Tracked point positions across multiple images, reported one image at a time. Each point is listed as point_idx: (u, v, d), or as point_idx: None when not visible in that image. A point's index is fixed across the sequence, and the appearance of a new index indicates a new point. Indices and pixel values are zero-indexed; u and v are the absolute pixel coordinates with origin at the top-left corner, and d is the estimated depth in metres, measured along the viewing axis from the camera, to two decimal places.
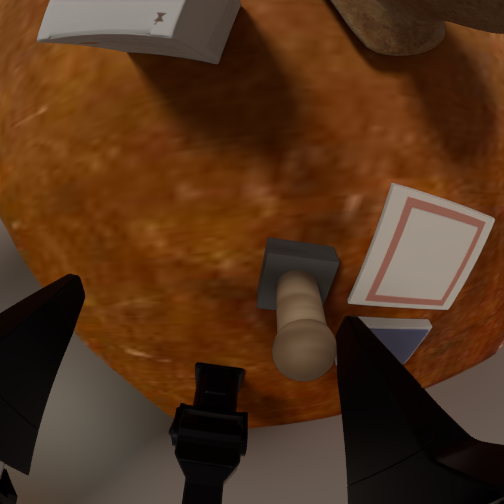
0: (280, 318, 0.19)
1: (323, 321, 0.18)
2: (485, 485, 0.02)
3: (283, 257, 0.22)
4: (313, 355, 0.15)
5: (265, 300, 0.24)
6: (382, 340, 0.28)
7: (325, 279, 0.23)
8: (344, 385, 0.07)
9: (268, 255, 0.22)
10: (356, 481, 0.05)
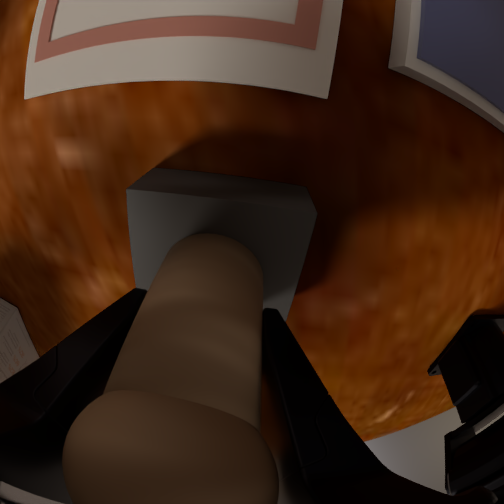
0: None
1: (111, 381, 0.04)
2: None
3: None
4: None
5: None
6: (461, 4, 0.04)
7: (180, 216, 0.08)
8: None
9: None
10: None
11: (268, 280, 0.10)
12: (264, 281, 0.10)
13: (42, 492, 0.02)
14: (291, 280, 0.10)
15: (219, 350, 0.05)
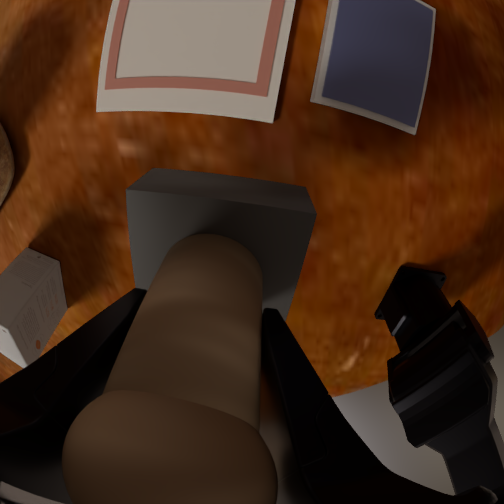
0: None
1: (110, 381, 0.04)
2: None
3: None
4: None
5: None
6: (358, 54, 0.12)
7: (180, 216, 0.08)
8: None
9: None
10: None
11: (267, 281, 0.10)
12: (263, 281, 0.10)
13: (42, 492, 0.02)
14: (290, 280, 0.10)
15: (218, 350, 0.05)
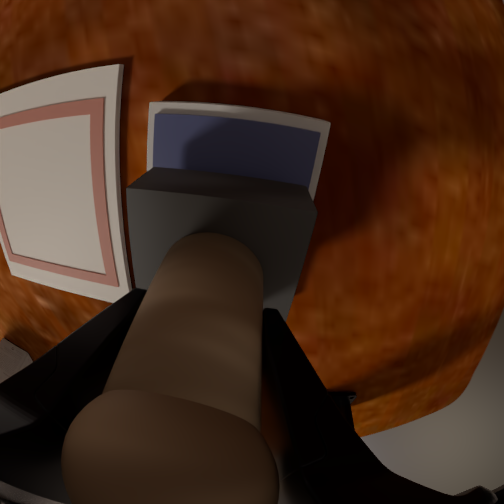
0: None
1: (110, 381, 0.04)
2: None
3: None
4: None
5: None
6: None
7: (181, 215, 0.08)
8: None
9: None
10: None
11: (268, 280, 0.10)
12: (264, 280, 0.10)
13: (42, 492, 0.02)
14: (291, 279, 0.09)
15: (219, 349, 0.05)
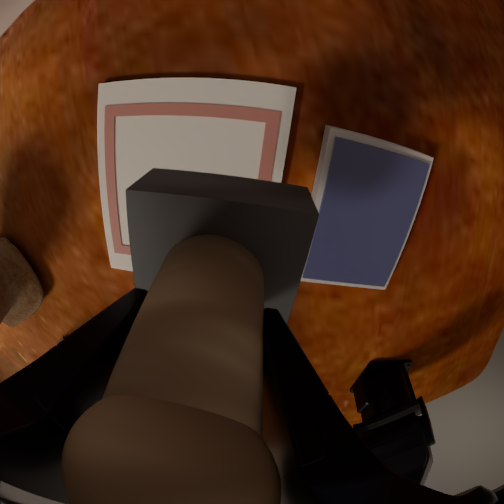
0: None
1: (110, 386, 0.04)
2: None
3: None
4: None
5: None
6: (338, 238, 0.18)
7: (180, 217, 0.08)
8: None
9: None
10: None
11: (268, 282, 0.09)
12: (265, 283, 0.09)
13: (42, 492, 0.02)
14: (292, 282, 0.09)
15: (220, 354, 0.05)
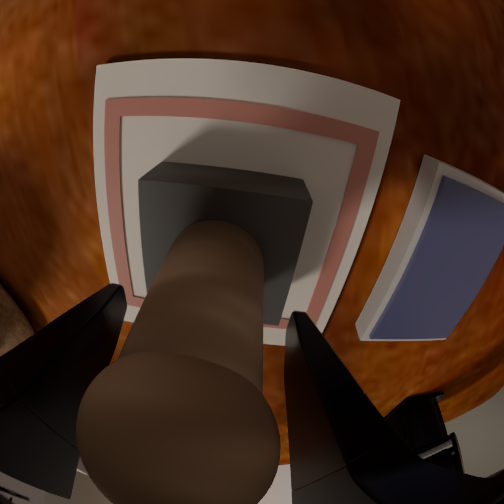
0: None
1: (125, 348, 0.05)
2: None
3: (150, 286, 0.11)
4: None
5: None
6: (419, 296, 0.13)
7: (188, 204, 0.09)
8: (288, 384, 0.07)
9: None
10: (297, 487, 0.05)
11: (268, 264, 0.10)
12: (264, 265, 0.10)
13: (14, 474, 0.02)
14: (290, 264, 0.10)
15: (226, 317, 0.06)
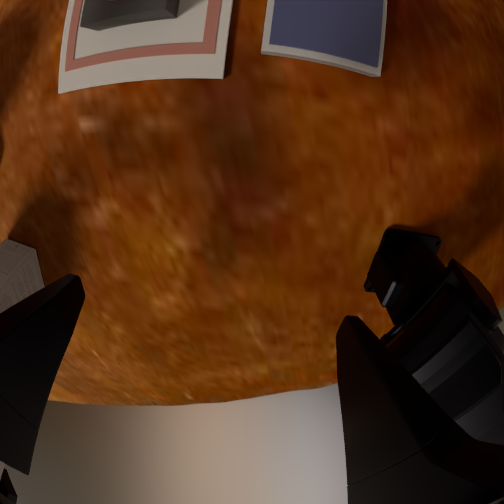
0: None
1: None
2: (485, 485, 0.02)
3: (85, 9, 0.09)
4: None
5: (149, 2, 0.10)
6: (303, 0, 0.10)
7: None
8: (344, 385, 0.07)
9: (82, 24, 0.10)
10: (356, 481, 0.05)
11: None
12: None
13: None
14: None
15: None
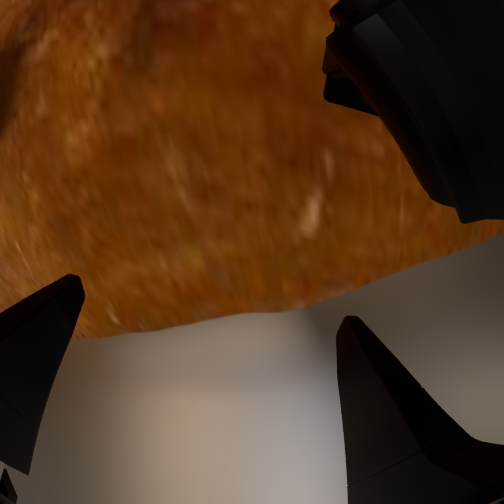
0: None
1: None
2: (485, 485, 0.02)
3: None
4: None
5: None
6: None
7: None
8: (344, 385, 0.07)
9: None
10: (356, 481, 0.05)
11: None
12: None
13: None
14: None
15: None
